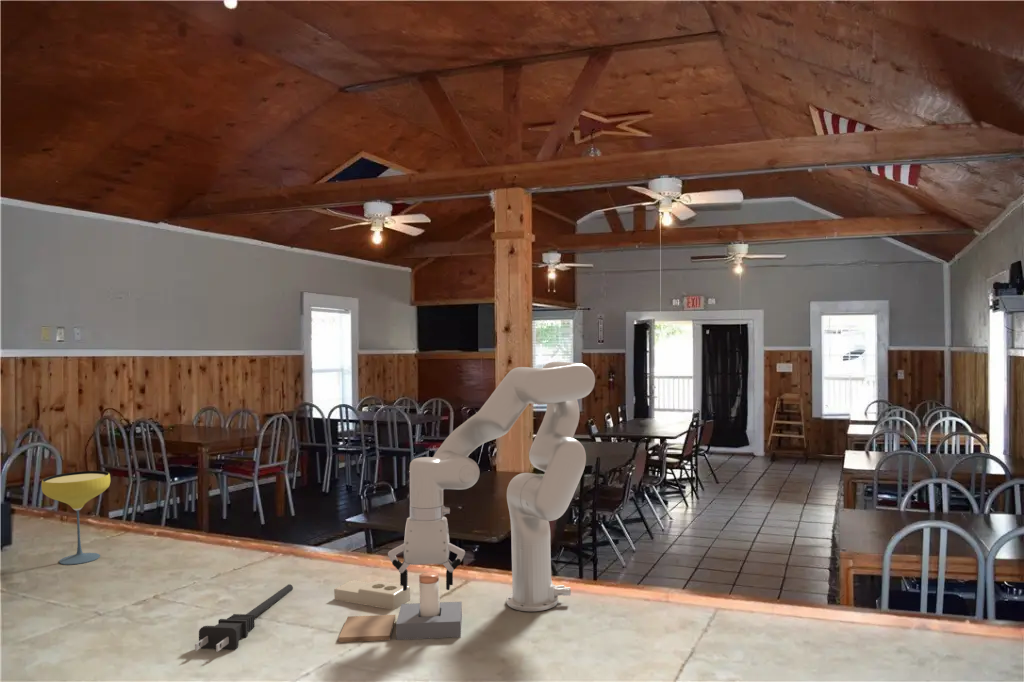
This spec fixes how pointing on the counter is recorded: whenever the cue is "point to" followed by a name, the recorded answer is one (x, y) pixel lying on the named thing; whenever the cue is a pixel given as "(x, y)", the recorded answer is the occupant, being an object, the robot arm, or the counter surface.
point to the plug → (429, 594)
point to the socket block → (429, 622)
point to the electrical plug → (234, 626)
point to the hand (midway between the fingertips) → (426, 588)
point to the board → (367, 628)
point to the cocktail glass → (76, 500)
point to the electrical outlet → (373, 594)
